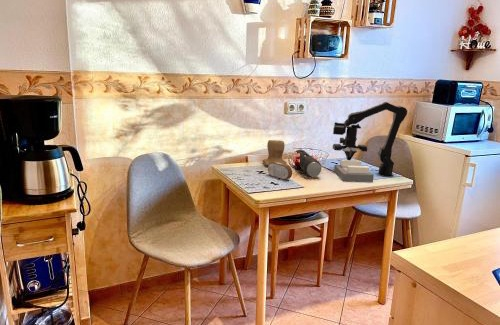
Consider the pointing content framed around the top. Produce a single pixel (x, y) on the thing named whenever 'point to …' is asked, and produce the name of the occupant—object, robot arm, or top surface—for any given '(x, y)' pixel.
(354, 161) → the toggle
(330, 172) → the top surface
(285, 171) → the brown grey oval slab
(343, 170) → the switch box
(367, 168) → the toggle
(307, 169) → the dark grey cylinder
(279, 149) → the brown flared block
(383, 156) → the robot arm
